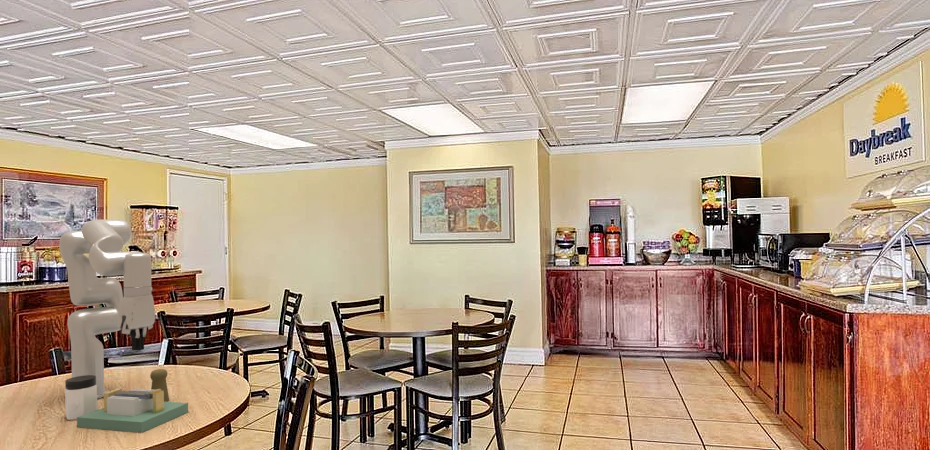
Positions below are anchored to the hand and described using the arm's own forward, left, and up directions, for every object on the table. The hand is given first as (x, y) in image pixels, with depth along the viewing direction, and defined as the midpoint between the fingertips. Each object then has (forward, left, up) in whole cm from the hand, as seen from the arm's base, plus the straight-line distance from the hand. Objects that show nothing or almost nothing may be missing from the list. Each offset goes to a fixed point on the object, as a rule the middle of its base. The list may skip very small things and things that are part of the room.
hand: (137, 349), depth 172 cm
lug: (+9, -2, -18) cm, 21 cm away
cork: (-6, +15, -22) cm, 27 cm away
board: (+1, -2, -21) cm, 21 cm away
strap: (+1, -2, -14) cm, 14 cm away
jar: (-20, -2, -22) cm, 30 cm away
